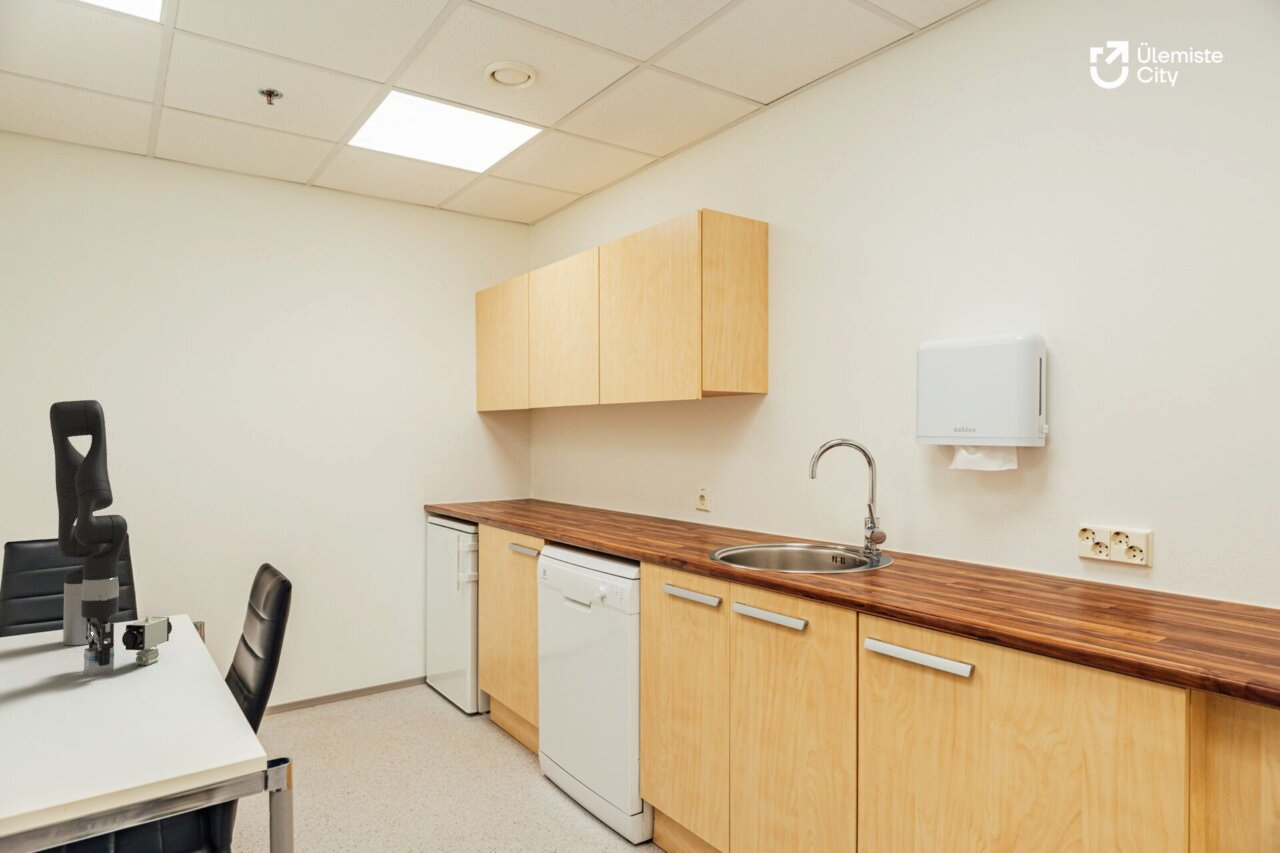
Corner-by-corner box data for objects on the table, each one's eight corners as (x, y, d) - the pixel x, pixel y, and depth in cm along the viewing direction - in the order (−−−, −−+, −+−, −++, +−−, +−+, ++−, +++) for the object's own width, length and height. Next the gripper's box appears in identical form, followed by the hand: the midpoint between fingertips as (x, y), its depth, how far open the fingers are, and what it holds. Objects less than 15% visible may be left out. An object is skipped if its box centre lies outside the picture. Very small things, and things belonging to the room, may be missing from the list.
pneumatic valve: (172, 657, 195) (173, 611, 195) (138, 670, 183) (138, 622, 184) (153, 656, 196) (153, 611, 196) (117, 670, 184) (118, 622, 184)
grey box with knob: (83, 673, 181) (84, 644, 182) (108, 668, 185) (108, 640, 185) (88, 677, 178) (89, 648, 179) (113, 672, 182) (114, 643, 183)
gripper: (74, 594, 184) (73, 659, 184) (89, 602, 175) (88, 671, 174) (110, 589, 190) (108, 653, 189) (126, 597, 180) (125, 664, 180)
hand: (99, 661), depth 182 cm, fingers open, 8 cm apart
